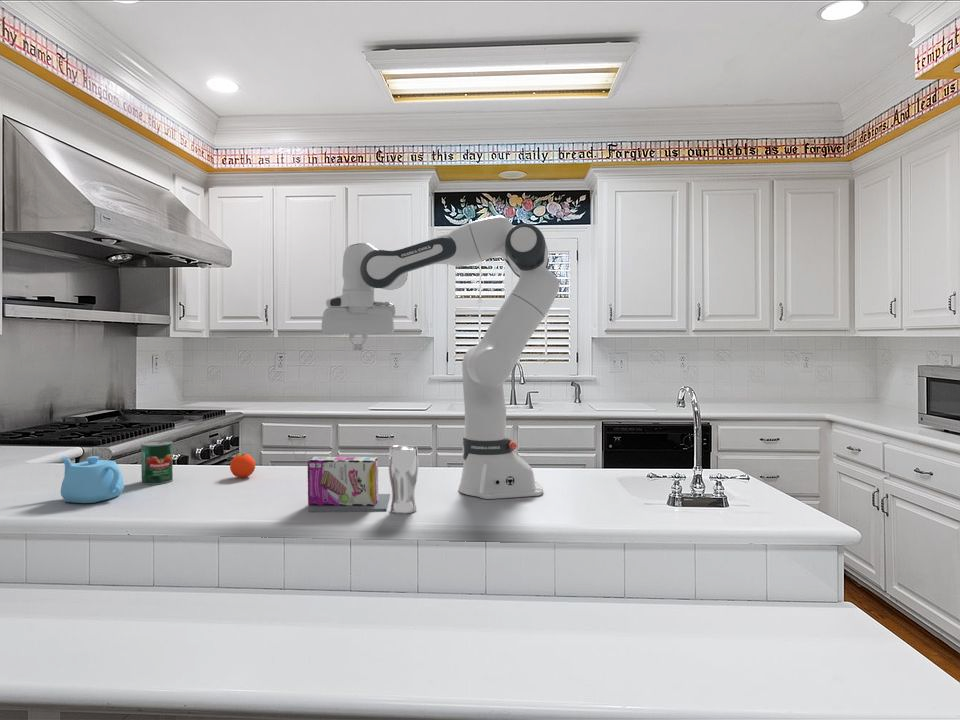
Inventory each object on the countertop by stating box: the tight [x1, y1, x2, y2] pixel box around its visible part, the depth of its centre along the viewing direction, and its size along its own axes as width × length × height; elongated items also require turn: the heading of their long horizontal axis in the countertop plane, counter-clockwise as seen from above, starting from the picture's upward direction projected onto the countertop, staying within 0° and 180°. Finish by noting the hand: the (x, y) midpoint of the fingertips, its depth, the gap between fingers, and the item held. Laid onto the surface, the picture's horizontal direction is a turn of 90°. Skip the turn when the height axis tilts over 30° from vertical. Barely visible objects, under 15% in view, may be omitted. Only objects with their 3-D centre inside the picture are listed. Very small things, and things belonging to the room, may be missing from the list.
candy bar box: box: [307, 456, 379, 506], centre depth 154 cm, size 11×5×16 cm
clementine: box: [229, 453, 256, 479], centre depth 184 cm, size 8×7×7 cm
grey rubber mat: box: [308, 493, 391, 513], centre depth 156 cm, size 18×14×1 cm
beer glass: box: [388, 444, 419, 515], centre depth 150 cm, size 7×7×15 cm
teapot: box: [60, 455, 125, 504], centre depth 159 cm, size 13×11×18 cm
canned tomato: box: [140, 439, 174, 486], centre depth 178 cm, size 8×8×11 cm
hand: (358, 350), depth 180 cm, fingers closed
